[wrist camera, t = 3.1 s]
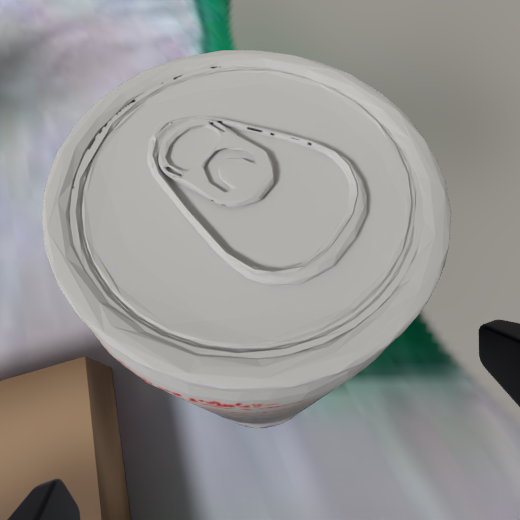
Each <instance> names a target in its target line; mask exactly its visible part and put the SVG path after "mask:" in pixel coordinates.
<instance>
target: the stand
mask: <svg viewBox="0 0 520 520" xmlns="http://www.w3.org/2000/svg"><path fill="white" fill-rule="evenodd" d="M53 479H60V480H62V481H63V482H64V484H65V485H66V487H67V489H68V490H69V492H70V494H71V495H72V497H73V498H74V500H75V502H76V503H77V505H78V507H79V511H80V520H131V517H130V509H129V501H128V494H127V486H126V478H125V470H124V463H123V455H122V447H121V439H120V432H119V424H118V416H117V408H116V400H115V393H114V385H113V377H112V369H111V368H110V367H108V366H106V365H104V364H101V363H99V362H97V361H94V360H92V359H90V358H88V357H85V356H84V357H81V358H78V359H74V360H71V361H67V362H64V363H60V364H57V365H53V366H50V367H46V368H43V369H40V370H36V371H33V372H29V373H26V374H22V375H19V376H15V377H12V378H9V379H5V380H2V381H0V520H7V519H8V518H9V517H10V516H11V514H12V513H13V512H14V511H15V510H16V508H17V507H18V506H19V505H20V504H21V503H22V501H23V500H24V499H25V498H26V497H27V495H28V494H29V493H30V492H31V491H32V490H33V488H34V487H36V486H38V485H39V484H42V483H45V482H48V481H50V480H53Z"/></svg>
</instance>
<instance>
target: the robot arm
mask: <svg viewBox="0 0 520 520" xmlns="http://www.w3.org/2000/svg"><path fill="white" fill-rule="evenodd" d="M479 356H480V360H481V362H482V364H483V365H484V367H485V368H486V369H487V370H488V372H489V373H490V374H491V375H492V376H493V377H494V378H495V379H496V381H497V382H498V383H499V384H500V385H501V386H502V387H503V389H504V390H505V391H506V392H507V393H508V394H509V395H510V396H511V398H512V399H513V400H514V401H515V402H516V403H517V404H518V405H519V407H520V324H519V323H514V322H509V321H504V320H494V321H492V322H489V323H486V324H483V325H482V326H481V327H480V329H479ZM7 520H80V511H79V507H78V505H77V503H76V502H75V500H74V498H73V497H72V495H71V494H70V492H69V490H68V489H67V487H66V485H65V484H64V482H63V481H62V480H60V479H53V480H50V481H48V482H45V483H42V484H39V485H38V486H36V487H34V488H33V490H32V491H31V492H30V493H29V494H28V495H27V497H26V498H25V499H24V500H23V501H22V503H21V504H20V505H19V506H18V507H17V508H16V510H15V511H14V512H13V513H12V514H11V516H10V517H9V518H8V519H7Z"/></svg>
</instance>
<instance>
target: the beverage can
mask: <svg viewBox="0 0 520 520" xmlns="http://www.w3.org/2000/svg"><path fill="white" fill-rule="evenodd" d="M450 222H451V210H450V204H449V199H448V194H447V188H446V183H445V180H444V177H443V174H442V172H441V169H440V167H439V164H438V161H437V160H436V158H435V156H434V155H433V153H432V151H431V150H430V148H429V146H428V145H427V143H426V141H425V140H424V138H423V137H422V136H421V134H420V133H419V131H418V130H417V129H416V127H415V126H414V125H413V123H411V121H410V120H409V119H408V117H407V116H406V115H405V114H404V113H403V112H402V111H401V110H400V109H399V108H398V107H397V106H395V105H394V104H393V103H392V102H391V101H390V100H388V99H387V98H386V97H385V96H384V95H382V94H381V93H379V92H378V91H376V90H375V89H373V88H372V87H370V86H369V85H367V84H365V83H364V82H362V81H360V80H359V79H357V78H355V77H354V76H352V75H350V74H348V73H346V72H344V71H341V70H338V69H336V68H333V67H331V66H328V65H326V64H323V63H320V62H318V61H314V60H310V59H306V58H302V57H298V56H294V55H287V54H281V53H274V52H266V51H217V52H211V53H206V54H200V55H195V56H189V57H184V58H178V59H175V60H172V61H170V62H167V63H165V64H162V65H159V66H157V67H154V68H151V69H149V70H146V71H144V72H142V73H140V74H138V75H136V76H135V77H133V78H131V79H130V80H128V81H126V82H125V83H123V84H121V85H120V86H118V87H116V88H115V89H113V90H112V91H110V92H109V93H108V94H106V95H105V96H104V97H102V98H101V99H100V100H99V101H98V102H97V103H96V104H95V105H94V106H93V107H92V108H91V109H90V110H89V111H88V112H87V113H86V114H85V115H84V116H83V117H82V118H81V119H80V120H79V121H78V122H77V124H76V125H75V127H74V128H73V130H72V131H71V132H70V134H69V135H68V137H67V138H66V140H65V141H64V143H63V144H62V146H61V147H60V149H59V150H58V152H57V154H56V157H55V160H54V163H53V165H52V168H51V171H50V174H49V177H48V181H47V184H46V187H45V190H44V201H43V212H42V225H43V234H44V243H45V249H46V253H47V256H48V260H49V263H50V265H51V267H52V270H53V272H54V275H55V277H56V280H57V282H58V285H59V287H60V289H61V290H62V292H63V293H64V295H65V296H66V298H67V299H68V301H69V303H70V304H71V306H72V307H73V309H74V310H75V312H76V313H77V314H78V315H79V317H80V318H81V319H82V320H83V321H84V322H85V323H86V324H87V325H88V326H89V327H90V328H91V330H92V331H93V333H94V334H95V336H96V337H97V338H98V339H99V341H100V342H101V343H102V345H103V346H104V347H105V349H106V350H107V351H108V353H110V354H111V355H112V356H113V357H114V358H115V359H117V360H118V361H119V362H120V363H121V364H122V365H124V366H125V367H126V368H128V369H129V370H131V371H132V372H133V373H135V374H136V375H137V376H139V377H140V378H142V379H143V380H144V381H146V382H147V383H149V384H151V385H153V386H155V387H157V388H159V389H162V390H164V391H166V392H168V393H170V394H172V395H175V396H177V397H179V398H181V399H183V400H186V401H188V402H190V403H192V404H195V405H197V406H199V407H201V408H204V409H206V410H208V411H210V412H213V413H215V414H217V415H219V416H222V417H224V418H226V419H228V420H230V421H233V422H235V423H237V424H239V425H243V426H246V427H251V428H267V427H272V426H276V425H279V424H282V423H284V422H286V421H288V420H289V419H291V418H293V417H294V416H295V415H296V414H298V413H299V412H301V411H302V410H304V409H305V408H307V407H308V406H310V405H311V404H313V403H314V402H316V401H317V400H319V399H320V398H322V397H323V396H325V395H327V394H328V393H330V392H331V391H333V390H334V389H336V388H337V387H339V386H340V385H342V384H343V383H345V382H346V381H348V380H349V379H351V378H352V377H354V376H355V375H356V374H357V373H359V372H360V371H361V370H363V369H364V368H365V367H367V366H368V365H369V364H370V363H372V362H373V361H374V360H375V359H376V358H377V357H378V356H379V355H380V354H381V353H382V352H383V351H384V350H385V349H386V348H387V347H388V346H389V345H390V344H391V343H392V342H393V341H394V340H395V339H396V338H397V337H399V336H400V335H401V334H402V333H403V332H404V331H405V330H406V328H407V327H408V326H409V325H410V324H411V323H412V322H413V320H414V319H415V318H416V317H417V316H418V314H419V313H420V312H421V310H422V309H423V307H424V306H425V305H426V303H427V302H428V300H429V298H430V296H431V294H432V292H433V290H434V288H435V286H436V284H437V282H438V280H439V278H440V276H441V273H442V270H443V268H444V265H445V261H446V256H447V252H448V247H449V238H450Z"/></svg>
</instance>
